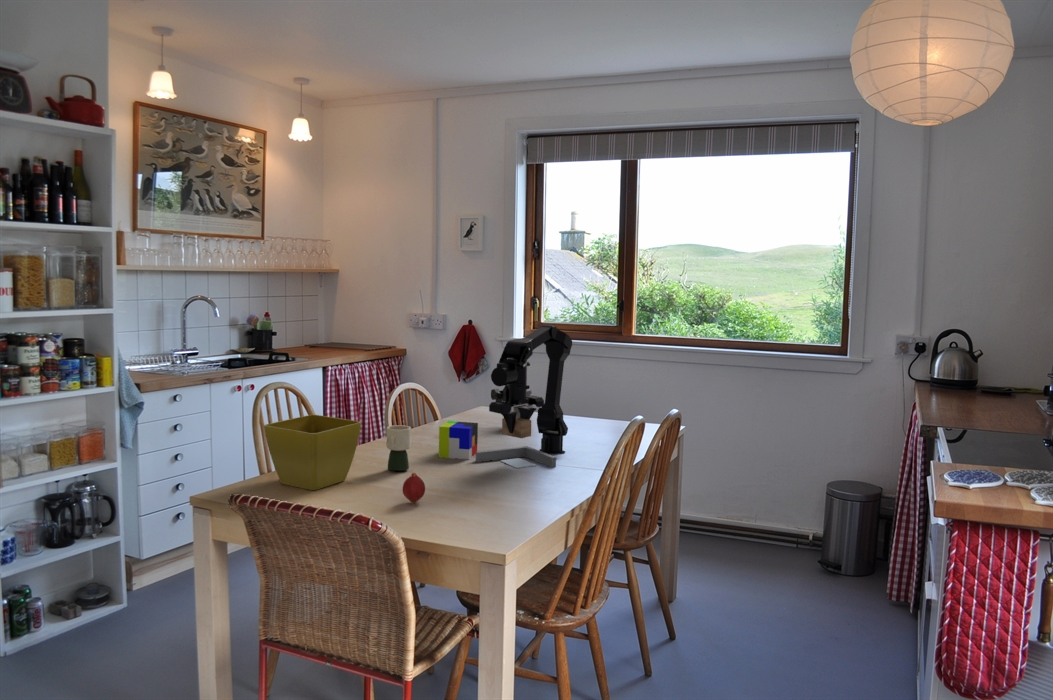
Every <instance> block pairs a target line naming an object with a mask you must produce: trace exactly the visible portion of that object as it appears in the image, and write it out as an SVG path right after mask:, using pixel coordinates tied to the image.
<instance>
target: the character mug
mask: <svg viewBox="0 0 1053 700" xmlns="http://www.w3.org/2000/svg"><path fill="white" fill-rule="evenodd" d="M385 435H386V446H385V447H386V448H387V449H388V450H389V454H388V455H389V456H388V461H387V470H388V471H395V472H396V473H397V472H398V471H407V470H409V469H410V467H409V457H408V452H407V450H410V449H411V445H412V443H411V439H412V438H411V437H412V428H411V426H408V425H404V424H403V425H402V424H398V425H397V424H396V425H394V424H393V425H388V426H387V427H386V434H385Z"/></svg>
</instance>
